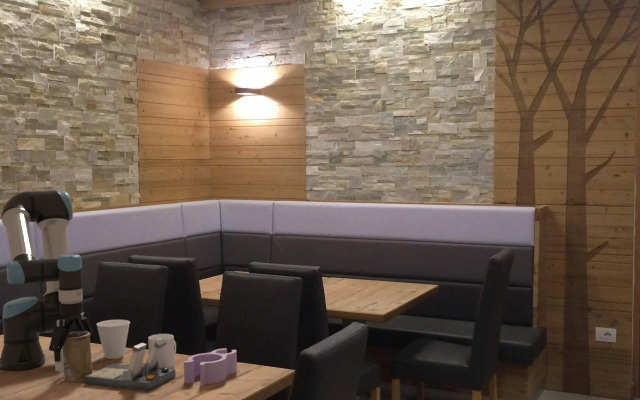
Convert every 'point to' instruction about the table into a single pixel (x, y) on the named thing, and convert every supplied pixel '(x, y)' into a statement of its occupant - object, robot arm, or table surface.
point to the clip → (210, 366)
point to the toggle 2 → (155, 353)
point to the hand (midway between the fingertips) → (73, 365)
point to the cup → (113, 337)
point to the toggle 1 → (137, 358)
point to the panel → (130, 377)
